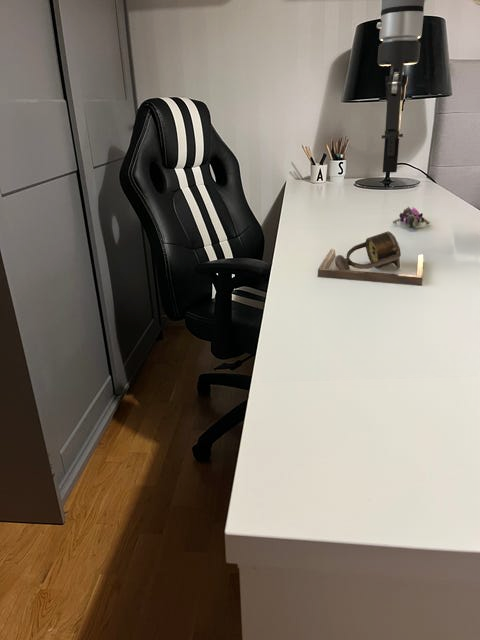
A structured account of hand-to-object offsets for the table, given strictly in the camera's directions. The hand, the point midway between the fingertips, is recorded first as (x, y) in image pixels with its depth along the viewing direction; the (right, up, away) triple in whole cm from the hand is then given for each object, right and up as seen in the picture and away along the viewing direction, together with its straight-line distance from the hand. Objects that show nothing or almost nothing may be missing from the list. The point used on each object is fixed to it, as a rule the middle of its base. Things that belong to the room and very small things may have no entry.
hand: (389, 171), depth 103 cm
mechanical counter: (-5, -20, -2) cm, 21 cm away
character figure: (+14, -5, +29) cm, 33 cm away
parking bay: (-4, -20, -2) cm, 21 cm away
